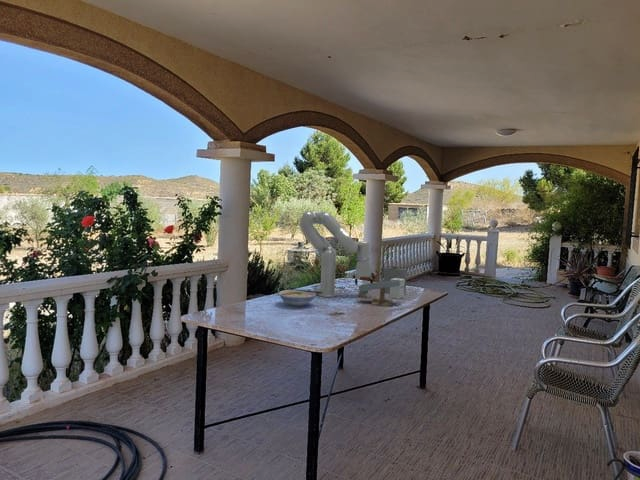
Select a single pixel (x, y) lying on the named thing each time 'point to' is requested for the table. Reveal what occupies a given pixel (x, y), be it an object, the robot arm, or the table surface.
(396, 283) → the balance beam
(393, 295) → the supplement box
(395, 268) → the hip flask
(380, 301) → the pivot stand
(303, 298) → the ramen bowl
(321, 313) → the table surface
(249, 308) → the table surface
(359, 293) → the brass weight
